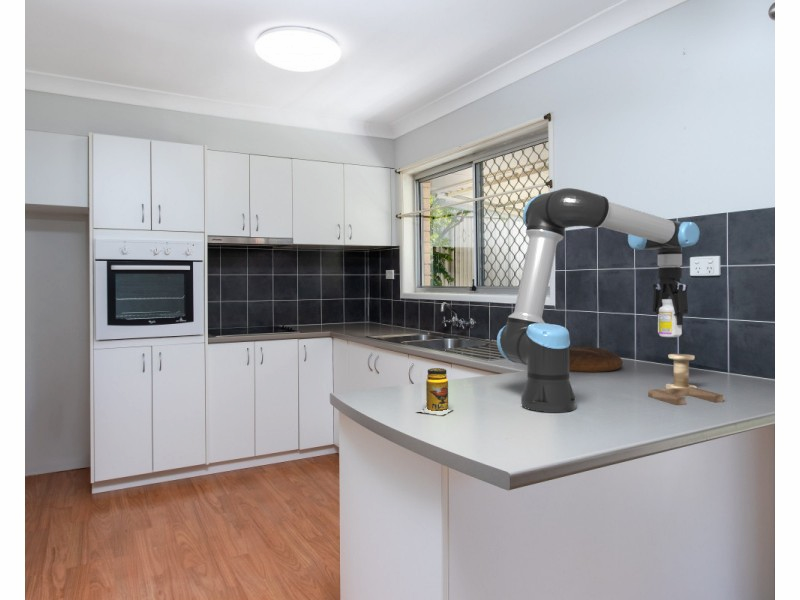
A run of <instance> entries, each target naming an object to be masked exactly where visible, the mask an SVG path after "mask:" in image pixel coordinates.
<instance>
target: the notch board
mask: <svg viewBox="0 0 800 600" xmlns="http://www.w3.org/2000/svg"><path fill="white" fill-rule="evenodd" d="M684 396H685V397H684ZM686 396H690V397H694V398H698V399H700V400H705V401H708V402H713V403H720V402H721V403H722V402H724V394H722V393H717V392H713V391H708V390H707V389H706V390H705V389H701V388H698V387H697V388H694V387H686V388H671V389H666V388H659V389H648V390H647V397H650V398H651V399H652V398H653V399H656V400H659V401H662V402H666V403H669V404H671V405H675V406H682V405H686Z"/></svg>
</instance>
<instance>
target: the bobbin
mask: <svg viewBox="0 0 800 600" xmlns="http://www.w3.org/2000/svg"><path fill="white" fill-rule="evenodd" d="M667 356H668V359H670V360H673V383H666V384H665V389H671V388H686V387H694V388H698V386H697V385H693V384H690V382H689V380H690V361H694V360H696V359H695V357H696V356H695V355H694V354H687V353H684V354H683V353H670V354H668V355H667Z"/></svg>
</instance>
